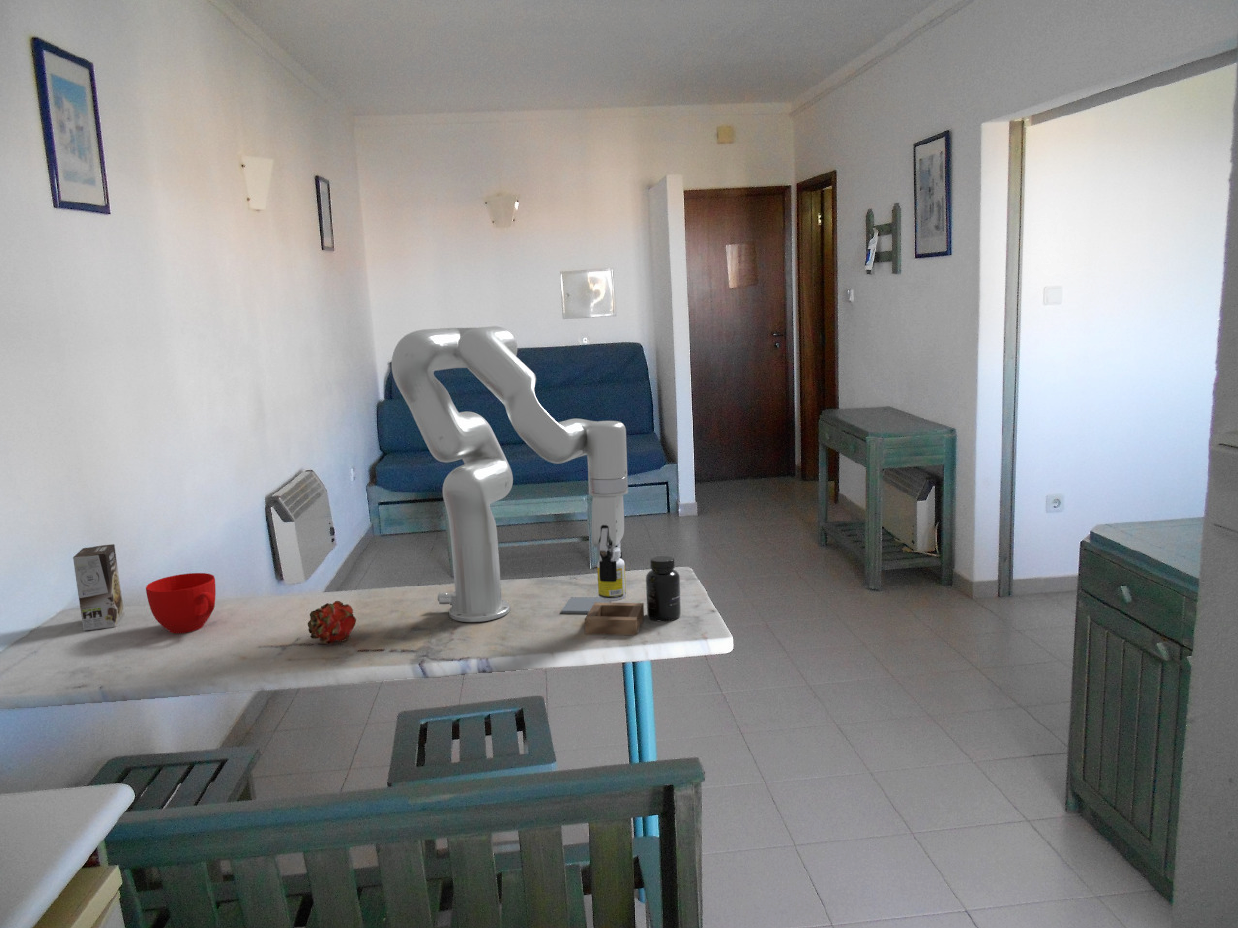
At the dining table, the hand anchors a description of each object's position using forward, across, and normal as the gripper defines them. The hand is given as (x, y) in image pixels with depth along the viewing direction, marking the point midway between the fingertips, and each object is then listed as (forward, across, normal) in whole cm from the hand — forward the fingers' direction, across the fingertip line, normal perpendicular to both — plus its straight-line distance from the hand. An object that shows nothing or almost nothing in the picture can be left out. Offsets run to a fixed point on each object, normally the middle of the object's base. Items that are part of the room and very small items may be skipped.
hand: (611, 575), depth 178 cm
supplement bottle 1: (+5, 0, 0) cm, 5 cm away
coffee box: (+12, +4, -111) cm, 111 cm away
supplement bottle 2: (+10, -6, +9) cm, 15 cm away
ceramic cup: (+11, +7, -88) cm, 89 cm away
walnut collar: (+10, 0, 0) cm, 10 cm away
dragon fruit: (+11, +11, -54) cm, 56 cm away
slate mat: (+10, -11, -8) cm, 17 cm away
